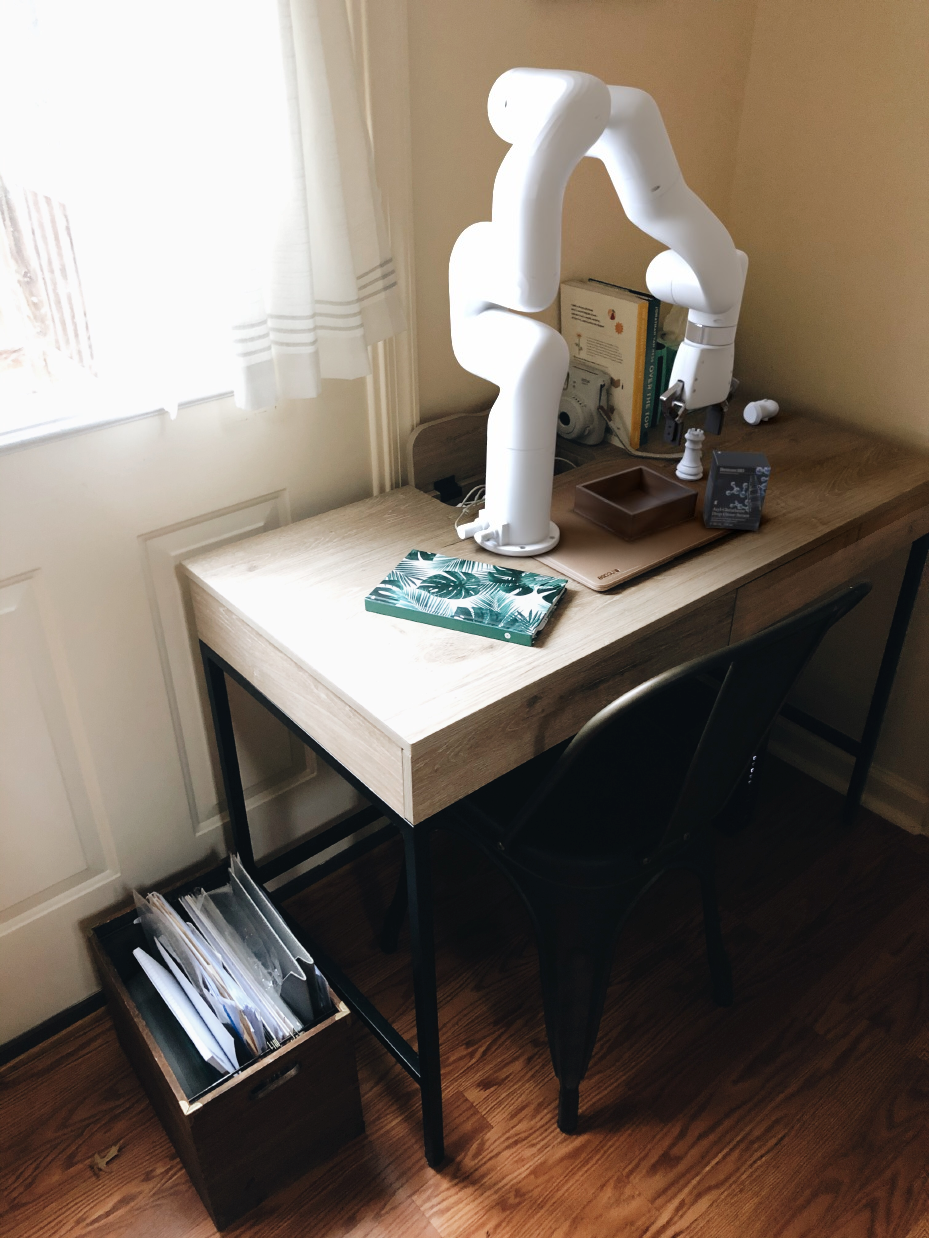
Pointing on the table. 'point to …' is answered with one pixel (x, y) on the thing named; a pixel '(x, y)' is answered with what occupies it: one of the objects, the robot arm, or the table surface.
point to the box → (736, 490)
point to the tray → (635, 502)
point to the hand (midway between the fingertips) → (692, 438)
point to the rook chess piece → (691, 457)
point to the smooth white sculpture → (760, 411)
